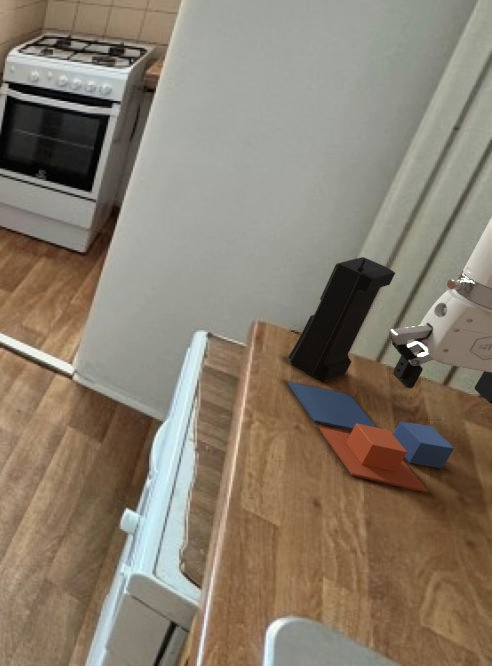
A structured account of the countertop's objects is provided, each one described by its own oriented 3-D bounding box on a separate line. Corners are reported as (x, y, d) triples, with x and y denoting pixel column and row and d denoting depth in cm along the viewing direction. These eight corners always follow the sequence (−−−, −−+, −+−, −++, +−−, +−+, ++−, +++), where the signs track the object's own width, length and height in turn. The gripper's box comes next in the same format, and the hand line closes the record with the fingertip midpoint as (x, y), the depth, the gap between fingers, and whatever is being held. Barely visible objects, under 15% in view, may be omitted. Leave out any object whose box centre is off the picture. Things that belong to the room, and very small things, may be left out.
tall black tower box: (312, 351, 116) (362, 240, 107) (349, 373, 110) (406, 258, 101) (284, 360, 113) (334, 247, 104) (321, 382, 108) (377, 266, 99)
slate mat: (348, 396, 105) (349, 394, 105) (381, 436, 97) (382, 434, 97) (287, 383, 108) (288, 381, 108) (314, 421, 100) (315, 420, 100)
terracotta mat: (387, 443, 96) (388, 442, 96) (427, 493, 88) (428, 491, 88) (319, 429, 99) (320, 427, 98) (351, 475, 91) (352, 473, 90)
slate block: (420, 446, 96) (431, 426, 94) (442, 468, 92) (454, 448, 90) (389, 440, 97) (400, 421, 95) (409, 462, 93) (421, 442, 91)
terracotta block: (378, 449, 94) (389, 430, 93) (395, 472, 91) (407, 452, 89) (345, 442, 96) (355, 423, 94) (361, 464, 92) (372, 444, 90)
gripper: (437, 297, 82) (387, 393, 88) (607, 324, 77) (541, 423, 84) (400, 268, 89) (356, 359, 95) (555, 290, 84) (497, 384, 90)
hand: (442, 389), depth 89 cm, fingers open, 9 cm apart
